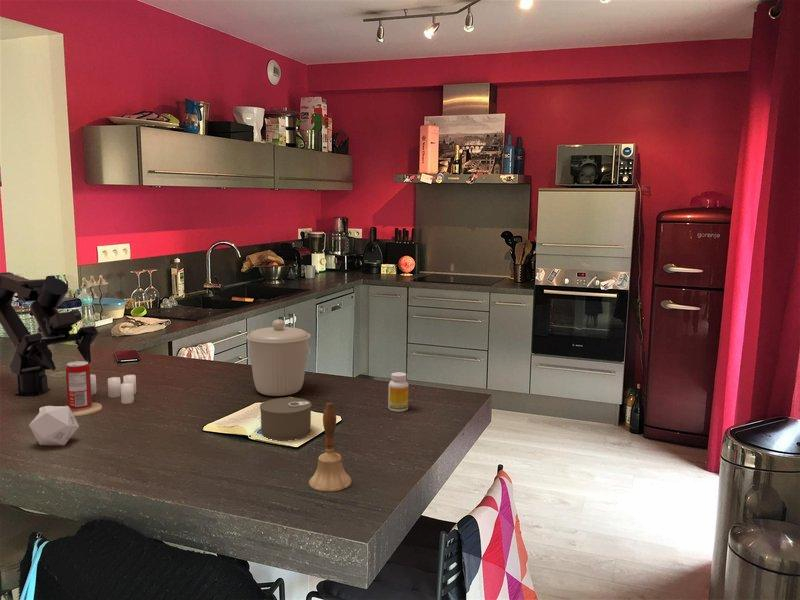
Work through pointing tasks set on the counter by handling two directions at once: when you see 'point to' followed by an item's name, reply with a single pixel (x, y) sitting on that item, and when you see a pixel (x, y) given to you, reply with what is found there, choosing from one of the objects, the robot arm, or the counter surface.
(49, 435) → the die
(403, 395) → the supplement bottle
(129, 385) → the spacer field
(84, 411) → the coaster
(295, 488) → the counter surface
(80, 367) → the soda can
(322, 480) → the hand bell
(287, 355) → the canister
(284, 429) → the can
